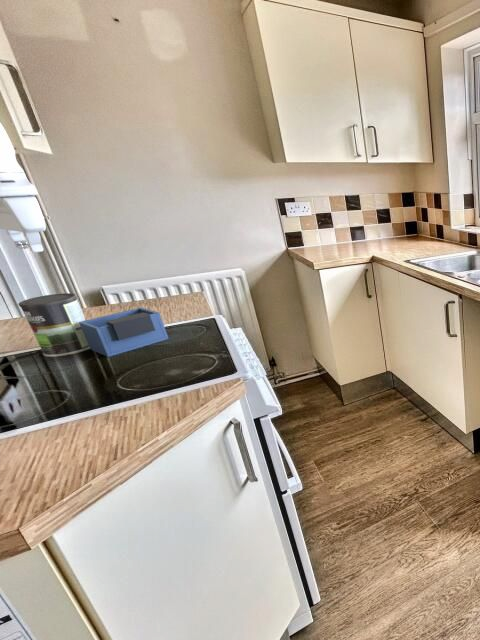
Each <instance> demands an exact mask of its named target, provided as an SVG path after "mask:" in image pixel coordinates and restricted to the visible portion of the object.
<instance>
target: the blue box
mask: <svg viewBox="0 0 480 640" xmlns="http://www.w3.org/2000/svg"><path fill="white" fill-rule="evenodd" d="M139 313H147V314H150V317H151V320H152V322H153V325H154V328H155V331H151V332H148V333H144V334H141V335H137V336H133V337H130V338H126V339H123V340H118V338H117V336H116V334H115V331H114V329H113V326H112V325H107V323H106V321H110V320H114V319H118V318H122V317H126V316H130V315H134V314H139ZM79 324H80V326H81V328H82V331H83V333H84V335H85V337H86V340H87V342H88V344H89V346H90V349H89V350H91V351H93V352H96V353H98V354H101V355H103V356H105V357H107V358H110V357H113V356H117V355H120V354H123V353H127V352H130V351H133V350H137V349H140V348H143V347H147V346H149V345H154V344H156V343H160V342H164V341H167V340H169V336H168V333H167V330H166V327H165V325H164V322H163V319H162V317H161V313H160V312H158V311H155V310H151V309H148V308H144V307H137V308H132V309H129V310H124V311H119V312H116V313H112V314H108V315H107V314H106V315H103V316H99V317H94V318H90V319H86V321H81V322H79Z"/></svg>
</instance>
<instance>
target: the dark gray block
mask: <svg viewBox="0 0 480 640" xmlns="http://www.w3.org/2000/svg"><path fill="white" fill-rule="evenodd" d="M106 323H107V325H112V326H113V329H114V331H115V334H116V336H117V338H118V340H123V339H126V338H130V337H133V336H137V335H141V334H144V333H148V332H151V331H155V328H154V325H153V322H152V320H151V317H150V314H147V313H139V314H134V315H130V316H126V317H122V318H118V319H114V320H110V321H106Z"/></svg>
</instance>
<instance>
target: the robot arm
mask: <svg viewBox="0 0 480 640" xmlns="http://www.w3.org/2000/svg"><path fill="white" fill-rule="evenodd" d="M38 195H39V193H38V191H37V188H36V186H35V185H34V184H33V183H31V182H30V181H29V179H28V178H27V175H26V173H25V171H24V169H23V168H22V167H21V165H20V164H19V162H18V161H17V157H16V149H15V147H14V145H13V142H12V141H11V139H10V137H9V135H8V133H7V131H6V129H5V127H4V126H3V124H2V123H1V122H0V230H5V232H6V234H7V235H8V237H9V238H10V239H11V240H12V242H13V244H14V246H15V248H16V249H18V250H25V249H29V251H31V252H33V253H40V252H43V251H44V247H43V244H42V239H41V234H40V232H46V229H47V225H46V221H45V217H44V214H43V211H42V209H41V205H40V203H39V202H38V201H39V200H38V199H37V198H36V196H38ZM24 237H25V238H24Z"/></svg>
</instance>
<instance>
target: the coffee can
mask: <svg viewBox="0 0 480 640" xmlns="http://www.w3.org/2000/svg"><path fill="white" fill-rule="evenodd" d="M18 306H19V307H20V308H21V311H22V312H23V314H24V317H25V318H26V320H27V323H28V324H29V327H30V329H31V331H32V333H33V335H34V336H35V339H36V341H37V343H38V345H39V347H40V349H41V352H42V354H43V357H46V358H58V357H66V356H72V355H76V354H79V353H83V352H86V351H89V350H91V349H90V346H89V344H88V342H87V340H86V337H85V335H84V333H83V331H82V328H81V326H80V324H79V322H81V321H86V320H87V319H86V316H85V314H84V313H83V310H82V307H81V305H80V303H79V300H78V296H77V294H76V293H70V292H69V293H68V292H67V293H54V294H46V295H39V296H35V297H30V298H28V299H24V300H22V301H20V302H19V303H18Z"/></svg>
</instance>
